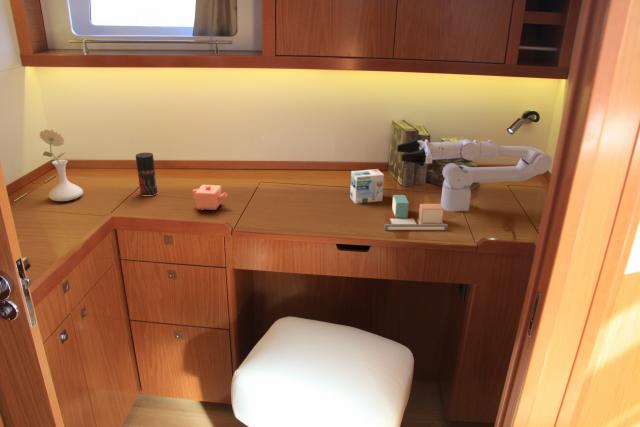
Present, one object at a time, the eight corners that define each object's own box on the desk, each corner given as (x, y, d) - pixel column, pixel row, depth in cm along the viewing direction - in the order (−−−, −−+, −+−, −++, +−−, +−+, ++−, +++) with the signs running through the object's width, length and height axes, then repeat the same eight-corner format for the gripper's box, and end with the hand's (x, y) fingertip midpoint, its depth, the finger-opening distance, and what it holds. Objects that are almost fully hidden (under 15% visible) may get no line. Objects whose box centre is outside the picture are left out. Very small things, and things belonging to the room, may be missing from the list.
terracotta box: (439, 219, 172) (441, 203, 170) (442, 224, 168) (444, 208, 166) (418, 219, 172) (419, 203, 170) (420, 224, 168) (422, 208, 166)
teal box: (407, 218, 173) (408, 202, 171) (395, 218, 173) (396, 202, 170) (403, 209, 179) (404, 195, 177) (391, 209, 179) (392, 195, 177)
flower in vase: (91, 195, 189) (79, 128, 179) (65, 206, 179) (51, 136, 169) (65, 189, 194) (52, 124, 184) (38, 200, 184) (23, 131, 174)
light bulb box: (355, 205, 184) (356, 176, 180) (349, 198, 190) (350, 170, 186) (383, 202, 187) (385, 174, 182) (376, 196, 193) (378, 168, 188)
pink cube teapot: (225, 213, 176) (223, 190, 173) (191, 211, 177) (188, 189, 174) (230, 204, 183) (229, 182, 180) (197, 202, 184) (196, 181, 181)
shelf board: (434, 210, 180) (435, 204, 179) (447, 232, 165) (447, 225, 164) (377, 210, 180) (378, 204, 179) (384, 232, 164) (385, 225, 163)
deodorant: (158, 195, 190) (153, 156, 184) (141, 197, 188) (136, 158, 182) (156, 190, 195) (152, 151, 189) (140, 192, 193) (135, 153, 187)
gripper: (435, 131, 177) (396, 133, 177) (446, 148, 165) (404, 150, 164) (433, 150, 181) (395, 152, 180) (444, 168, 168) (403, 170, 168)
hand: (399, 152), depth 172 cm, fingers open, 7 cm apart
